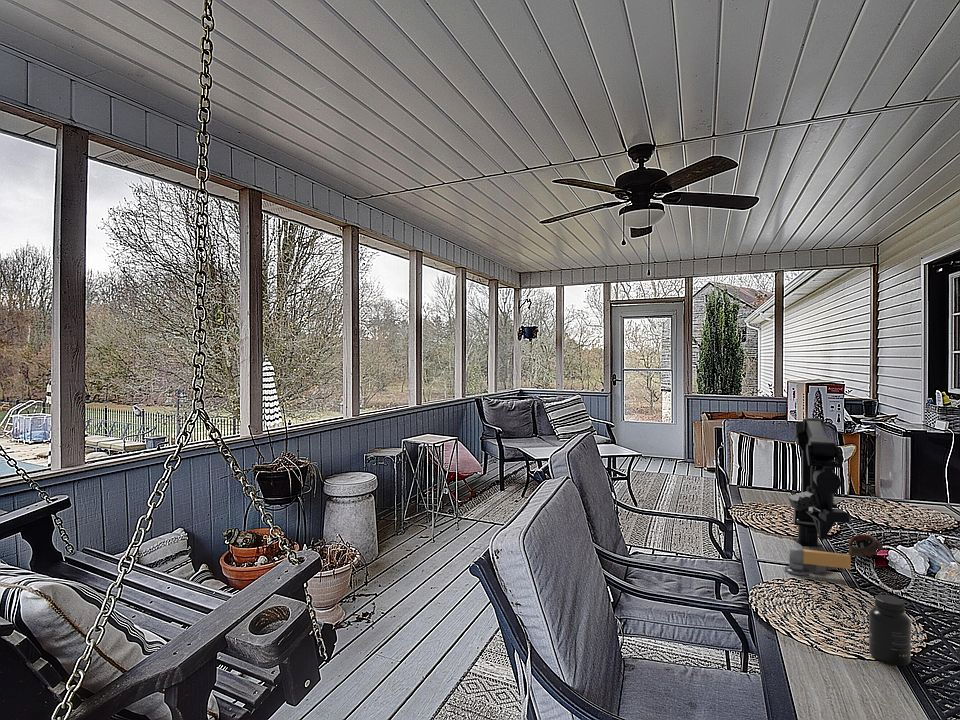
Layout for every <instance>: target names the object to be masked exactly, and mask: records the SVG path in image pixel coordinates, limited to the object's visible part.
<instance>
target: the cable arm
mask: <svg viewBox="0 0 960 720" xmlns="http://www.w3.org/2000/svg"><path fill="white" fill-rule="evenodd" d="M788 550H789V552H788V553H789V558H788V559H789V561H790V562H792V563H796V564H803V563H804V564H812V565H820V566H829V567H837V568H839V569H847V570H851V568H852V566H851V564H852V562H851V561H852V558H851V556H850V555H849V553H848V554H847V553H841V552H840V553H839V552H831V551H821V550H814V549H803V548H800V547H789V549H788ZM837 568H836V569H837Z"/></svg>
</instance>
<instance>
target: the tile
mask: <svg viewBox="0 0 960 720" xmlns="http://www.w3.org/2000/svg"><path fill="white" fill-rule="evenodd" d="M804 568H805V569H807V570H808V571H809V573H813V574H820V573H824V572H826V571H828V570H827V566H820V565H812V564H804Z"/></svg>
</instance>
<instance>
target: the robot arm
mask: <svg viewBox="0 0 960 720" xmlns="http://www.w3.org/2000/svg"><path fill="white" fill-rule="evenodd" d="M793 436H794V437H793V438H794V439H795V441H796V443H797V445H798V447H799V449H800V450H801V492H799V493H796V494H795V493H794V494H792V495H789V496H787V498H788V500H789V503H790V506H791V508H792V509H793V511H792V513H793V514H792V522H793V524H794V526H797V537H796V538H793V540H794V541H795V542H796V543H798V544H799V545H801V546H803V547H823V544H822V543H820V542H819V539H820V540H825V539H826V538H827V535H828V534H829V533H830V531H831V530H832V528H833V526H835V523H836V524H838V523H839V524H851V523H852V522H851V515H850V514H849V513H848V512H847V511H845V510H843V509H841V508H838V504H836V503H835V495H837V494H838V490H839V489H840V487H841V485H842V481H841V478H840V477H839V475H838V474H837V473H836V472H835V468H837V469H841V467H842V465H843V457H842V451H841V449H840V446H838V445H837V444H836V442H835V440H833V438H830V437H827V432H826V425H825V424H824V423H823V419H821V418H817V417H815V418H814V417H806V418H803V419H802V420H801V421H799V422H797V423H795V425H794V429H793Z"/></svg>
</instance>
